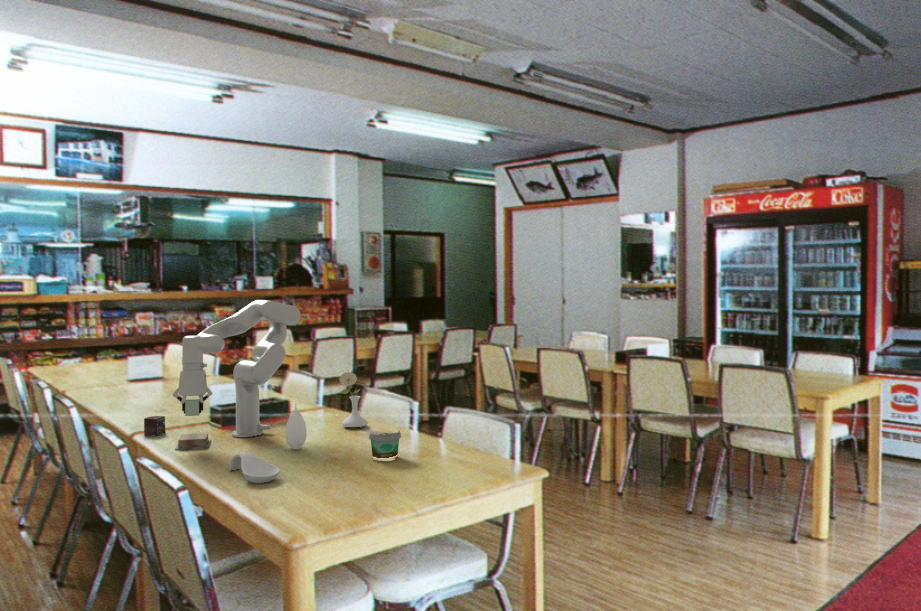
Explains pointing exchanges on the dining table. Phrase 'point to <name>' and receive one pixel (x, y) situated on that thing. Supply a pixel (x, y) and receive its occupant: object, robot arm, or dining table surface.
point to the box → (154, 425)
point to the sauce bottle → (295, 430)
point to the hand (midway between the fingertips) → (192, 412)
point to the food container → (385, 444)
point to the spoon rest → (254, 468)
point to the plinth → (193, 441)
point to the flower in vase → (354, 418)
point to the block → (192, 407)
